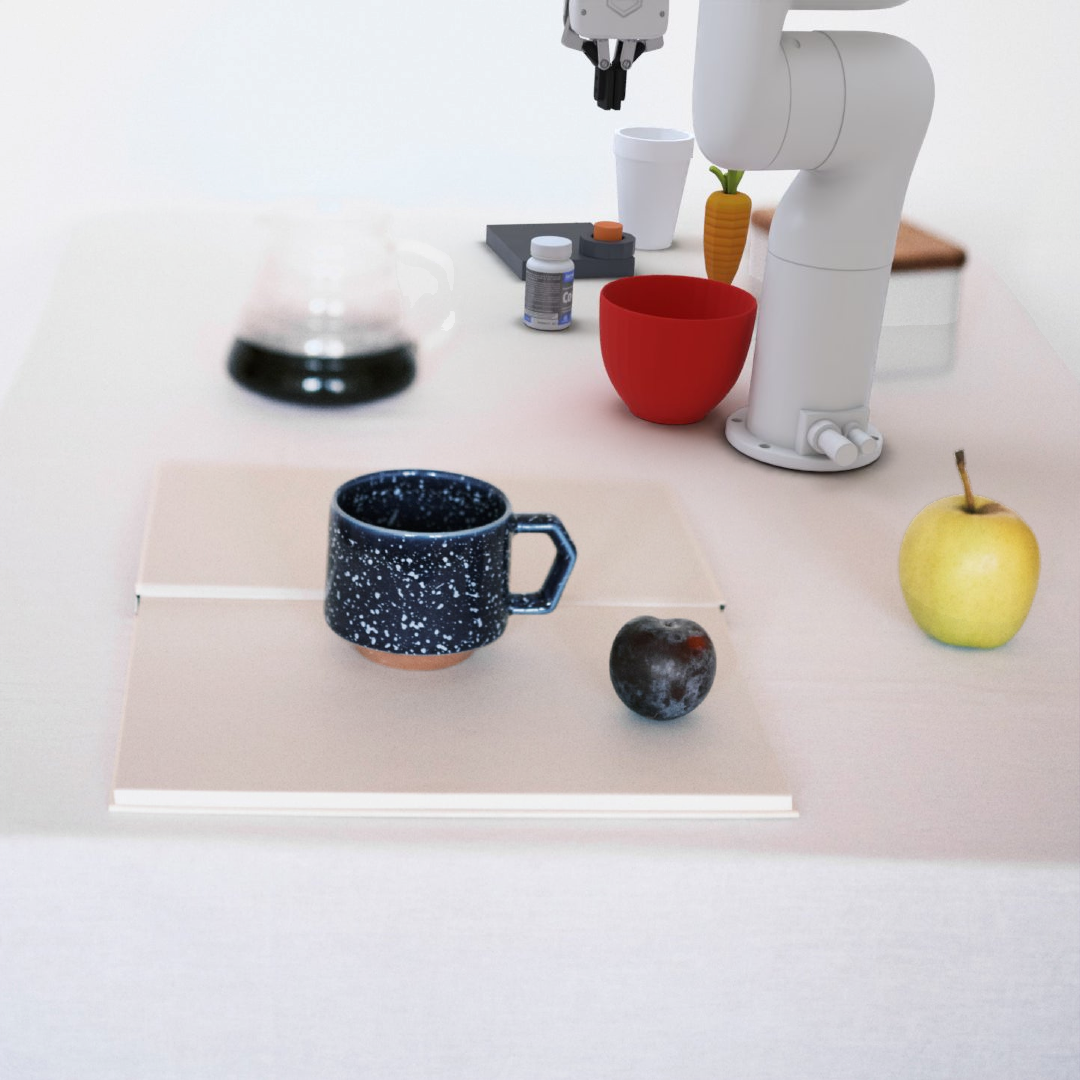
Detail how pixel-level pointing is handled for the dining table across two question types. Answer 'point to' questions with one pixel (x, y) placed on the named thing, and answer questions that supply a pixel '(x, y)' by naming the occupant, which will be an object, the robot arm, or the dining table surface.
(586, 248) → the scale
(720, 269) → the carrot
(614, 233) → the button
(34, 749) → the dining table surface
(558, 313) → the pill bottle
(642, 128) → the foam cup
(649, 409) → the ceramic cup
